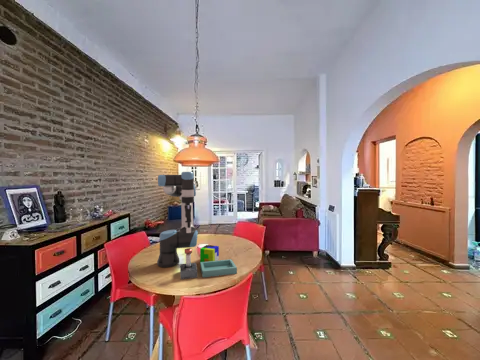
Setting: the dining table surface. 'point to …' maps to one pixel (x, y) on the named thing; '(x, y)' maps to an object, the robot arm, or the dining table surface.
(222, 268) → the tray
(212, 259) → the puzzle toy
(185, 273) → the block
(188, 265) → the pin
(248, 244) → the dining table surface
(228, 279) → the dining table surface
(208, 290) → the dining table surface
